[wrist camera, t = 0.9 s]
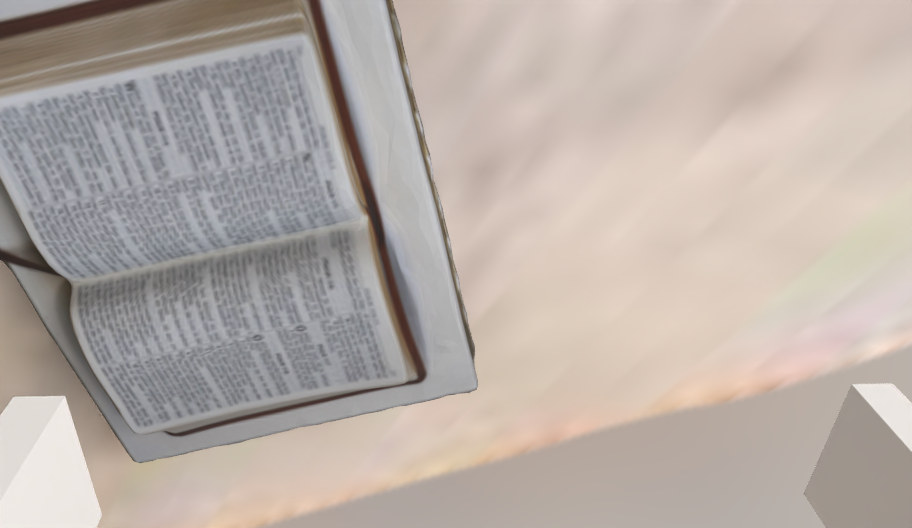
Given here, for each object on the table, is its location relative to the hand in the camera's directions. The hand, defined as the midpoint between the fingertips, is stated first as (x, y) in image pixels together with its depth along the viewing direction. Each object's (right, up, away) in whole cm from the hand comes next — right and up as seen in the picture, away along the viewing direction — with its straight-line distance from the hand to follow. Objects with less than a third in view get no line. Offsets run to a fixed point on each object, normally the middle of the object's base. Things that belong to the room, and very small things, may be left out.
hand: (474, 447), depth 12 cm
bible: (-11, +8, +24) cm, 28 cm away
